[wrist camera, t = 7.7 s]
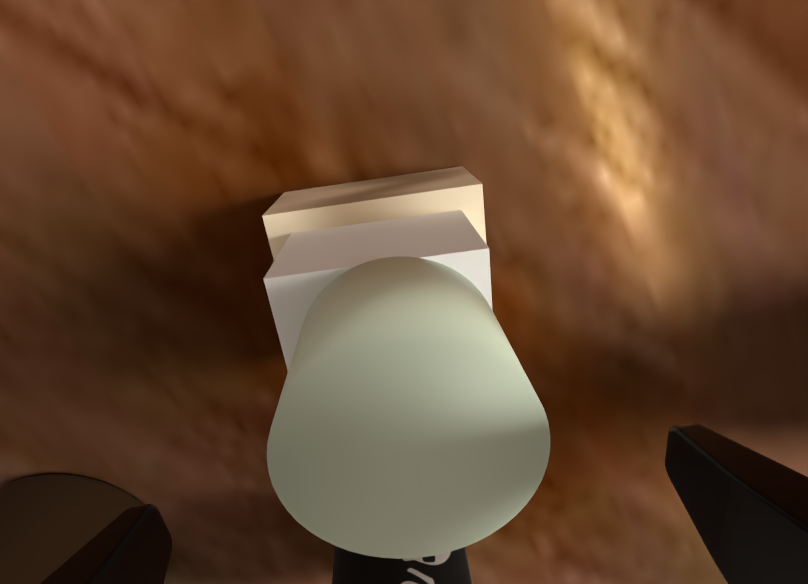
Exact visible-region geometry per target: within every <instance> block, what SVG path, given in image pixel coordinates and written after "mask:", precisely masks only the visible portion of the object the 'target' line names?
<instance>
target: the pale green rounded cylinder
mask: <svg viewBox="0 0 808 584" xmlns="http://www.w3.org/2000/svg"><path fill="white" fill-rule="evenodd" d="M549 454H550V430H549V423H548V420H547V417H546V414H545V411H544V408H543V406H542V404H541V402H540V400H539V398H538V396H537V394H536V392H535V391H534V389H533V387H532V385H531V383H530V381H529V379H528V377H527V375H526V374H525V372H524V370H523V368H522V366H521V364H520V362H519V360H518V358H517V357H516V355H515V353H514V351H513V349H512V347H511V345H510V343H509V341H508V340H507V338H506V336H505V334H504V332H503V330H502V328H501V326H500V324H499V323H498V321H497V319H496V317H495V315H494V313H493V311H492V309H491V307H490V306H489V304H488V302H487V300H486V299H485V297H484V296H483V294H482V293H481V292H480V290H479V289H478V288H477V287H476V286H475V285H474V284H473V283H472V282H471V281H470V280H468V279H467V278H466V277H464V276H463V275H462V274H461V273H459V272H457V271H455V270H454V269H452V268H450V267H448V266H446V265H443V264H441V263H438V262H435V261H431V260H428V259H424V258H417V257H409V256H395V257H386V258H380V259H376V260H372V261H368V262H365V263H363V264H360V265H357V266H355V267H353V268H351V269H349V270H347V271H346V272H344V273H342V274H341V275H339V276H338V277H337V278H335V279H334V280H332V281H331V282H330V283H329V284H328V285H327V286H326V287H325V288H324V289H323V290H322V291H321V292H320V293H319V295H318V296H317V297H316V298H315V300H314V301H313V303H312V305H311V307H310V308H309V310H308V312H307V315H306V317H305V320H304V322H303V325H302V329H301V332H300V335H299V338H298V341H297V345H296V348H295V351H294V354H293V358H292V361H291V364H290V367H289V370H288V374H287V377H286V380H285V383H284V387H283V390H282V393H281V396H280V399H279V403H278V406H277V409H276V412H275V416H274V419H273V422H272V425H271V429H270V433H269V438H268V442H267V464H268V472H269V476H270V479H271V482H272V486H273V488H274V490H275V492H276V494H277V496H278V498H279V500H280V501H281V503H282V504H283V505H284V507H285V508H286V510H287V511H288V512H289V513H290V514H291V515H292V516H293V518H294V519H295V520H296V521H297V522H298V523H300V524H301V525H302V526H303V527H304V528H306V529H307V530H308V531H309V532H311V533H313V534H314V535H316V536H317V537H319V538H320V539H322V540H324V541H326V542H328V543H330V544H332V545H335V546H337V547H340V548H342V549H345V550H348V551H351V552H355V553H359V554H363V555H367V556H374V557H381V558H396V559H403V558H420V557H428V556H434V555H438V554H443V553H448V552H451V551H454V550H457V549H460V548H463V547H466V546H468V545H470V544H473V543H475V542H477V541H479V540H481V539H483V538H485V537H487V536H489V535H491V534H492V533H494V532H495V531H497V530H498V529H500V528H501V527H503V526H504V525H505V524H507V523H508V522H509V521H510V520H511V519H512V518H514V517H515V516H516V515H517V514H518V513H519V512H520V511H521V510H522V509H523V507H524V506H525V505H526V504H527V503H528V502H529V500H530V499H531V497H532V496H533V495H534V493H535V492H536V490H537V488H538V486H539V484H540V483H541V481H542V479H543V476H544V473H545V470H546V468H547V464H548V459H549Z"/></svg>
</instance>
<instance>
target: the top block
mask: <svg viewBox="0 0 808 584" xmlns="http://www.w3.org/2000/svg"><path fill="white" fill-rule="evenodd" d="M395 256H409V257H417V258H424V259H428V260H431V261H435V262H438V263H441V264H443V265H446V266H448V267H450V268H452V269H454V270H455V271H457V272H459V273H461V274H462V275H463V276H464V277H466V278H467V279H468V280H470V281H471V282H472V283H473V284H474V285H475V286H476V287H477V288H478V289H479V290H480V292H481V293H482V294H483V296H484V297H485V299H486V300H487V302H488V304H489V306H490V307H491V309H492V295H491V276H490V258H489V248H488V246H487V245H486V243H485V242H484V241H483V239H482V238H481V236H480V235H479V234H478V232H477V231H476V230H475V228H474V227H473V225H472V224H471V223H470V221H469V220H468V218H467V217H466V216H465V214H464V213H463V211H462V210H457V211H450V212H442V213H435V214H427V215H420V216H413V217H405V218H398V219H391V220H383V221H376V222H368V223H361V224H354V225H346V226H339V227H332V228H324V229H317V230H310V231H302V232H295V233H291V234H290V236H289V238H288V239H287V241H286V243H285V244H284V246H283V248H282V249H281V251H280V252H279V254H278V256H277V257H276V259H275V261H274V262H273V264H272V266H271V267H270V269H269V270H268V272H267V274H266V275H265V277H264V279H263V280H264V283H265V287H266V291H267V295H268V298H269V302H270V306H271V310H272V313H273V317H274V321H275V325H276V328H277V332H278V336H279V340H280V344H281V347H282V351H283V355H284V359H285V362H286V366H287V370H289V367H290V364H291V361H292V358H293V354H294V351H295V348H296V345H297V341H298V338H299V335H300V332H301V329H302V325H303V322H304V320H305V317H306V315H307V312H308V310H309V308H310V307H311V305H312V303H313V301H314V300H315V298H316V297H317V296H318V295H319V293H320V292H321V291H322V290H323V289H324V288H325V287H326V286H327V285H328V284H329V283H330V282H331V281H332V280H334V279H335V278H337V277H338V276H339V275H341V274H342V273H344V272H346V271H347V270H349V269H351V268H353V267H355V266H357V265H360V264H363V263H365V262H368V261H372V260H376V259H380V258H386V257H395Z"/></svg>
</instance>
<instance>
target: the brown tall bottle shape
mask: <svg viewBox="0 0 808 584" xmlns="http://www.w3.org/2000/svg"><path fill="white" fill-rule="evenodd" d="M141 505H144V504H142V503H141V502H140V501H139V500H137V499H136V498H135V497H133V496H132V495H130V494H128V493H127V492H125V491H123V490H121V489H119V488H117V487H115V486H112V485H110V484H107V483H105V482H102V481H98V480H95V479H91V478H87V477H82V476H76V475H66V474H47V475H37V476H31V477H27V478H23V479H19V480H16V481H14V482H11V483H9V484H7V485H5V486H3V487H2V488H0V584H40V583H41V582H42V581H43V580H44V579H46V578H47V577H48V576H49V575H50V574H51V573H53V572H54V571H55V570H56V569H57V568H58V567H60V566H61V565H62V564H63V563H64V562H65V561H67V560H68V559H69V558H70V557H71V556H72V555H73V554H75V553H76V552H77V551H78V550H79V549H80V548H82V547H83V546H84V545H85V544H86V543H87V542H89V541H90V540H91V539H92V538H93V537H94V536H96V535H97V534H98V533H99V532H100V531H101V530H103V529H104V528H105V527H106V526H107V525H108V524H110V523H111V522H112V521H113V520H114V519H115V518H117V517H118V516H119V515H120V514H121V513H122V512H124V511H125V510H126V509H128V508H130V507H134V506H141Z"/></svg>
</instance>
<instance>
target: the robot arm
mask: <svg viewBox="0 0 808 584" xmlns="http://www.w3.org/2000/svg"><path fill="white" fill-rule="evenodd" d="M665 466H666V471H667V473H668V476H669V478H670V480H671V482H672V484H673V485H674V487H675V489H676V491H677V493H678V495H679V497H680V499H681V501H682V502H683V504H684V506H685V508H686V510H687V512H688V514H689V516H690V517H691V519H692V521H693V523H694V525H695V527H696V529H697V531H698V532H699V534H700V536H701V538H702V540H703V542H704V544H705V546H706V547H707V549H708V551H709V553H710V555H711V556H712V558H713V560H714V562H715V563H716V565H717V567H718V568H719V570H720V571H721V573H722V575H723V576H724V578H725V579H726V581H727V582H728V584H808V477H806V476H804V475H802V474H800V473H798V472H796V471H794V470H792V469H790V468H788V467H786V466H784V465H782V464H780V463H778V462H776V461H774V460H772V459H769V458H767V457H765V456H763V455H761V454H759V453H757V452H755V451H753V450H751V449H749V448H747V447H745V446H743V445H741V444H739V443H737V442H735V441H732V440H730V439H728V438H726V437H724V436H722V435H720V434H718V433H716V432H714V431H712V430H710V429H708V428H706V427H704V426H702V425H699V424H696V423H689V424H682V425H675V426H673V427H671V428H670V430H669V433H668V440H667V449H666V458H665ZM171 550H172V539H171V535H170V533H169V531H168V529H167V527H166V525H165V523H164V521H163V518H162V516H161V514H160V512H159V510H158V509H157V507H156V506H154V505H151V504H147V505H141V506H134V507H130V508H128V509H126V510H125V511H124V512H122V513H121V514H120V515H119V516H118V517H117V518H115V519H114V520H113V521H112V522H111V523H110V524H108V525H107V526H106V527H105V528H104V529H103V530H101V531H100V532H99V533H98V534H97V535H96V536H94V537H93V538H92V539H91V540H90V541H89V542H87V543H86V544H85V545H84V546H83V547H82V548H80V549H79V550H78V551H77V552H76V553H75V554H73V555H72V556H71V557H70V558H69V559H68V560H67V561H65V562H64V563H63V564H62V565H61V566H60V567H58V568H57V569H56V570H55V571H54V572H53V573H51V574H50V575H49V576H48V577H47V578H46V579H44V580H43V581H42V582H41V583H40V584H163V583H164V579H165V575H166V571H167V567H168V563H169V559H170V554H171Z"/></svg>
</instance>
